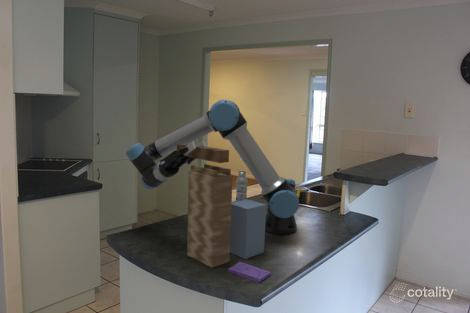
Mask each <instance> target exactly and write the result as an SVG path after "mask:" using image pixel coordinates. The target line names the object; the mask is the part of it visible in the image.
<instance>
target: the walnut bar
mask: <svg viewBox="0 0 470 313" xmlns="http://www.w3.org/2000/svg"><path fill="white" fill-rule="evenodd" d="M188 144H189V143H188ZM188 144H186V143H184V144H177V151H179V150H180V149H183V148H184V147H186V146H187V145H188ZM195 147H196V149H194V150H193V151H192V152H190V153H189V154H188V155H186V156H187V157H192V158H196V159H197V160H203V161H207V162H213V163H218V164H223V163H230V161H229V159H230V150H229V149H223V148H218V147H217V148H216V147H209V146H206V147H205V146H199V145H198V144H195ZM183 155H184V154H183Z"/></svg>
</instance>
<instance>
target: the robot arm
mask: <svg viewBox="0 0 470 313" xmlns="http://www.w3.org/2000/svg"><path fill="white" fill-rule="evenodd" d="M247 127H248V122H247V120H246V118H245V117H244V115H243V114H242V112H241V111H240V108H239V106H238V105H237V104H236V103H235V102H234V101H232V100H228V99H220V100H217V101H216V102H214V103H213V104H212V105H211V107H210V109H209V110H208V111H206V112H205V114H204V115H203V116H202V117H199V118H198V119H196V120H194V121H192V122H189V123H188V124H185V125H184V126H182V127H180V128H178V129H177V130H174V131H173V132H171V133H169V134H167V135H164V136H163V137H161V138H159V139H157V140H155V141H153V142H152V143H149V144H148V145H146V146H143V145H142V143H140V142H137V143H134V144H133V145H132V146H131V147H129V148H128V149H126V151H125V155H126V156H127V158H128V160H129V161H130V162H131V163H132V165H133V166H134V167H135V169H136V170H137V171H138V172H139V173H140V175H141V184H142V187H144V188H145V189H147V190H154V189H156V188H158V187H160V186H161V185H162V184H163V183H165V182H167V181H168V180H169V179H170V178H172V177H174V176H175V175H176V174H178V173H179V170H180V168H181V167H182V166H184V165H185V164H187V165H190V164H191V163H192V162H193V161H195V160H196V159H197V158H192V157H187V156H186V155H188V154H189V153H190V152H192V151H193V150H194V149H196V147H195V145H196V143H195V141H197V140H198V139H200V138H203V137H205V136H206V135H208V134H210V133H212V132H215V133H217V132H218V133H219V134H220V136H221V138H222V139H223V140H228V141H229V142H230V144H231V145H232V147H233V148H234V150H235V151H236V153H237V154H238V156H239V157H240V158H241V160H242V162H243V163H244V165H245V166H246V167H247V168H248V170H249V172H250V173H251V174H252V176H253V177H254V179H255V180H256V182H257V183H258V185H259V186H260V187H261V193H260V194H261V196H262V197H263V199H264V201H265V202H266V204H267V209H266V220H265V233H270V234H272V235H273V234H274V235H284V236H285V235H291V234H295V233H296V232H297V229H298V227H297V222H296V221H297V220H296V216H295V214H296V213H297V211H298V209H299V205H300V199H299V198H298V197H297V195H296V194H297V192H296V186H297V185H296V181H295V180H294V179H291V178H290V179H289V178H286V177H282V176H280V174H278V173H277V170H275V168H274V166H273V165H272V164H271V162H270V160H269V159H268V158H267V156H266V154H265V153H264V152H263V150H262V149H261V147H260V146H259V144H258V143H257V141H256V140H255V138H254V137H253V136H252V134H251V133H250V131H249V129H248V128H247ZM184 143H186V144H188V145H187V146H186V147H184V148H183V149H180V150H179V151H177V144H184ZM197 145H199V146H205V147H207V146H206V142H205V141H204V140H202V141H200V142H199V143H198V144H197ZM183 154H184V155H183ZM163 157H164V158H163ZM160 158H163V159H161V160H159V159H160ZM157 160H159V162H158V163H156V162H157Z"/></svg>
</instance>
